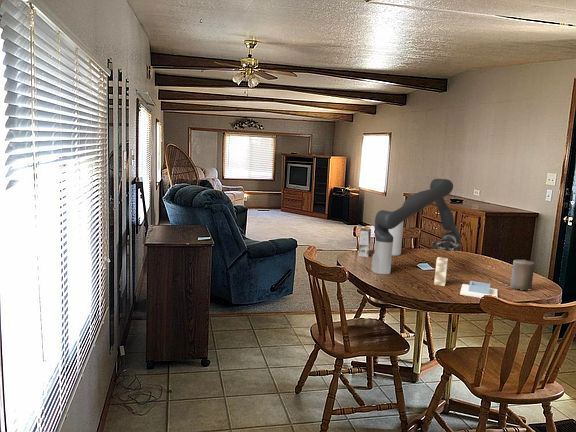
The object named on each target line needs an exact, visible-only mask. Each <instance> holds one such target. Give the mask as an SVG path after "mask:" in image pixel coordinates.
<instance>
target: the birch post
mask: <svg viewBox="0 0 576 432" xmlns="http://www.w3.org/2000/svg"><path fill="white" fill-rule="evenodd" d="M435 262H436V263H435V271H434V273H435V274H434V280H433V281H434V282H433V285H434V286H442V287H445V286H446V282H447V271H448V263H449V258H447V257H439V256H438V257H437V258H436V261H435Z"/></svg>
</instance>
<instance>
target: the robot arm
mask: <svg viewBox="0 0 576 432" xmlns="http://www.w3.org/2000/svg"><path fill="white" fill-rule="evenodd" d="M429 186H430V187H429V189H426V190H422V191H418V192H415V193H414V194H412V195H410V196H409V197H408V198H406V199H405V200H404V202H403V204H402V206H401V207H400V208H398V209H396V210H393V211H389V210H385V209H384V210H383V209H382V210H379V211H378V212H376V215H375V216H374V217H375V218H374V238H375V240H374V241H375V242H374V243H375V244H374V253H372V261H371V272H373V273H374V274H378V275H390V274H391V270H392V269H391V268H392V258H393V257H392V248H393V236H392V235H391V234H390V232H389V230H388V229H393V228H395V227H396V226H398V225H399V224H400V223H401V222H403V221H405V220H407V219H408V218H410V217H412V216H413V215H415V214H416V213H418V212H420V211H422V210H423V209H424V208H426V207H428V206H430V205H431V204H433V203H435V205H436V208H437V210H438V213H439V217H440V222H441V226H442V229H443V230H445V231H448V232H443V233H442V234H441V241H439V242H438V241H437V240H434V241H433V242H432V248H435V249H436V250H438V249H441V250H444V251H445V252H450V251H453V252H456V251H457V250H458V251H459V252H460V251H462V244H461V243H460V242H461V241H462V236H461V234H460V232H459V231H458V228H457V226H456V224H455V223H456V221H455V219H454V214H453V212H452V210H451V208H450V207H449V205H448V203H447V202H446V200H445V198H444V197H447V196H449V195H450V194H451V193H452V192H453V189H454V183H453V182H452V180H449V179H446V178H434V179H432V180H431V182H430V184H429Z"/></svg>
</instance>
